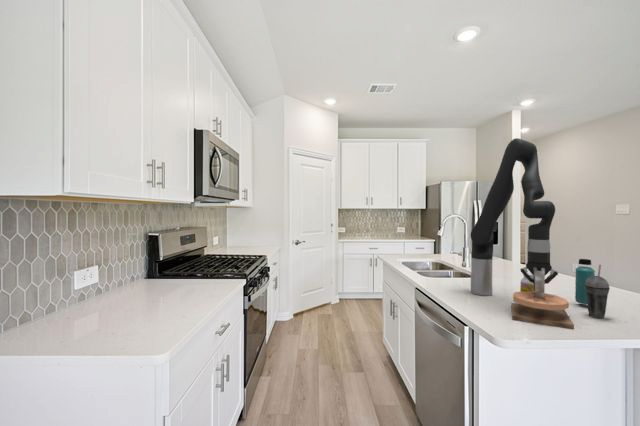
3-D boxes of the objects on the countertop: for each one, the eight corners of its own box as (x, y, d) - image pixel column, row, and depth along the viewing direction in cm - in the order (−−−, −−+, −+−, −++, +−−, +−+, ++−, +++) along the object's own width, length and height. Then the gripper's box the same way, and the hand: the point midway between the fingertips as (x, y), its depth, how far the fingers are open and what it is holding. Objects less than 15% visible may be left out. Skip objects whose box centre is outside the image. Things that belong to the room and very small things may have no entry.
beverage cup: (579, 313, 122) (579, 263, 122) (595, 312, 123) (596, 262, 123) (597, 320, 115) (597, 266, 115) (614, 319, 116) (615, 266, 115)
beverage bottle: (598, 308, 128) (599, 260, 127) (580, 307, 129) (581, 260, 129) (588, 304, 134) (589, 258, 134) (571, 303, 136) (571, 257, 135)
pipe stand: (512, 319, 116) (513, 273, 116) (511, 306, 131) (511, 265, 131) (573, 329, 107) (574, 278, 106) (564, 313, 122) (565, 269, 122)
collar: (514, 305, 116) (514, 300, 116) (512, 294, 131) (512, 289, 131) (572, 313, 107) (572, 307, 107) (563, 300, 122) (563, 295, 122)
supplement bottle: (516, 301, 138) (517, 272, 138) (525, 299, 141) (525, 271, 141) (533, 305, 132) (533, 275, 132) (541, 303, 135) (542, 274, 135)
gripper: (519, 250, 125) (519, 293, 125) (560, 252, 118) (560, 297, 119) (518, 248, 131) (518, 288, 132) (557, 250, 125) (557, 292, 125)
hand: (538, 293), depth 125 cm, fingers closed
